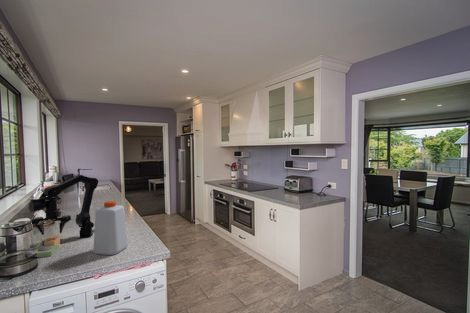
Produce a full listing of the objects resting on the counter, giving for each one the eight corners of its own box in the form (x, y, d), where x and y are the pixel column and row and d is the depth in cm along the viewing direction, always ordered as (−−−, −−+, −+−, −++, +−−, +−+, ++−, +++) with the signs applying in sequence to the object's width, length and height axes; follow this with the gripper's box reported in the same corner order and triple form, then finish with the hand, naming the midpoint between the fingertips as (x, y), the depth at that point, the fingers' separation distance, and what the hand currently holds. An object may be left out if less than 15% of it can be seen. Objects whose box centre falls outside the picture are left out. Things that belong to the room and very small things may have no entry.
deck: (66, 242, 160) (65, 237, 160) (51, 256, 139) (51, 250, 139) (42, 244, 156) (41, 239, 156) (23, 258, 136) (23, 253, 136)
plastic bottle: (114, 256, 138) (113, 205, 137) (90, 254, 141) (88, 204, 140) (130, 245, 153) (129, 199, 152) (108, 244, 156) (107, 199, 155)
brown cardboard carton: (60, 244, 157) (59, 234, 156) (54, 249, 149) (54, 239, 149) (50, 245, 155) (50, 235, 155) (44, 250, 148) (44, 240, 147)
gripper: (73, 204, 162) (74, 228, 162) (39, 206, 157) (40, 231, 158) (67, 208, 151) (67, 234, 152) (30, 210, 146) (31, 237, 147)
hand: (52, 234), depth 152 cm, fingers open, 9 cm apart
